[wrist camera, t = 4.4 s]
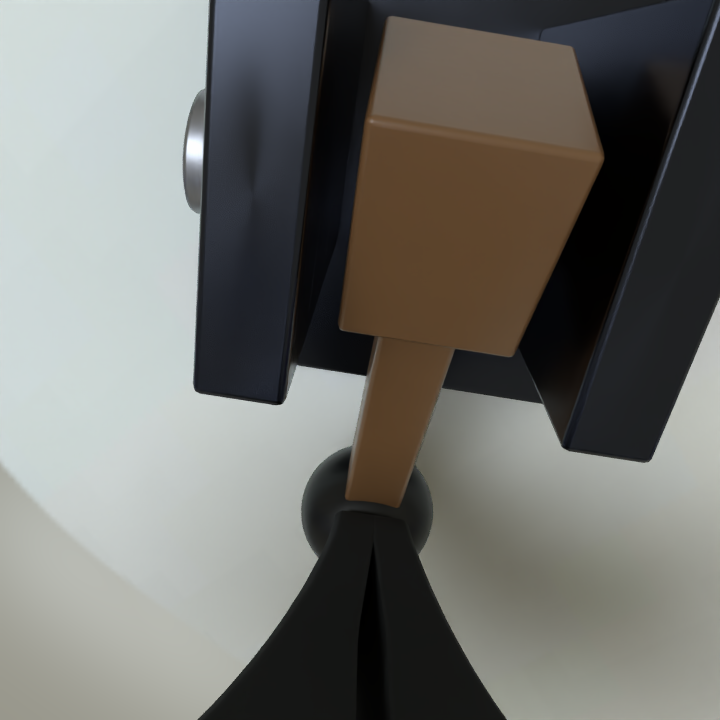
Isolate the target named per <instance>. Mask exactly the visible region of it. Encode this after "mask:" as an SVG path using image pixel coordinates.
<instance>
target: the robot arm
mask: <svg viewBox="0 0 720 720" xmlns="http://www.w3.org/2000/svg"><path fill="white" fill-rule="evenodd" d="M198 720H507V719H506V718H505V717H504V715H503V714H502V712H501V711H500V709H499V708H498V706H497V705H496V703H495V702H494V701H493V699H492V698H491V696H490V694H489V693H488V691H487V690H486V688H485V687H484V685H483V683H482V682H481V680H480V679H479V677H478V676H477V674H476V672H475V671H474V669H473V667H472V666H471V664H470V662H469V660H468V659H467V657H466V655H465V654H464V652H463V650H462V648H461V646H460V644H459V643H458V641H457V639H456V637H455V635H454V633H453V631H452V630H451V628H450V626H449V624H448V622H447V620H446V618H445V616H444V614H443V612H442V609H441V607H440V605H439V603H438V601H437V599H436V597H435V594H434V592H433V590H432V588H431V586H430V583H429V581H428V579H427V576H426V574H425V571H424V569H423V566H422V564H421V561H420V559H419V556H418V553H417V551H416V548H415V545H414V542H413V539H412V536H411V533H410V529H409V525H408V524H407V523H406V521H405V520H403V519H396V518H390V517H383V516H377V515H370V514H364V513H357V512H350V511H344V510H341V511H339V512H338V513H336V514H335V516H334V522H333V525H332V528H331V531H330V534H329V537H328V539H327V542H326V544H325V546H324V548H323V550H322V553H321V555H320V557H319V559H318V561H317V563H316V564H315V566H314V568H313V570H312V572H311V574H310V575H309V577H308V579H307V581H306V583H305V584H304V586H303V588H302V589H301V591H300V593H299V594H298V596H297V597H296V599H295V600H294V602H293V603H292V605H291V607H290V608H289V610H288V611H287V613H286V614H285V616H284V617H283V619H282V620H281V622H280V623H279V625H278V626H277V627H276V629H275V630H274V632H273V633H272V634H271V636H270V637H269V638H268V640H267V641H266V642H265V644H264V645H263V646H262V647H261V649H260V650H259V651H258V653H257V654H256V655H255V656H254V658H253V659H252V660H251V661H250V663H249V664H248V665H247V666H246V667H245V668H244V670H243V671H242V672H241V673H240V674H239V676H238V677H237V678H236V679H235V680H234V681H233V683H232V684H231V685H230V686H229V687H228V688H227V689H226V691H225V692H224V693H223V694H222V695H221V696H220V697H219V698H218V699H217V700H216V701H215V703H214V704H213V705H212V706H211V707H210V708H209V709H208V710H207V711H206V712H205V713H204V714H203V715H202V716H201V717H200V718H199V719H198Z"/></svg>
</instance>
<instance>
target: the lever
mask: <svg viewBox="0 0 720 720" xmlns="http://www.w3.org/2000/svg"><path fill="white" fill-rule="evenodd" d="M603 162H604V151H603V148H602V144H601V141H600V137H599V134H598V130H597V127H596V123H595V119H594V116H593V112H592V109H591V105H590V102H589V98H588V95H587V91H586V88H585V84H584V80H583V77H582V73H581V70H580V66H579V63H578V59H577V56H576V52H575V49H574V48H572V47H571V46H567V45H561V44H555V43H549V42H543V41H537V40H531V39H526V38H520V37H514V36H508V35H502V34H496V33H490V32H484V31H478V30H472V29H466V28H460V27H455V26H449V25H443V24H437V23H431V22H425V21H419V20H413V19H407V18H401V17H395V16H390V17H387V18H386V20H385V22H384V26H383V31H382V36H381V41H380V46H379V51H378V56H377V61H376V65H375V70H374V75H373V80H372V85H371V90H370V95H369V100H368V105H367V110H366V115H365V120H364V128H363V135H362V143H361V150H360V158H359V166H358V173H357V181H356V188H355V196H354V204H353V211H352V219H351V227H350V234H349V242H348V249H347V257H346V265H345V272H344V280H343V287H342V295H341V303H340V310H339V318H338V326H339V329H340V330H342V331H346V332H352V333H359V334H365V335H371V336H374V341H373V346H372V351H371V356H370V361H369V366H368V371H367V376H366V381H365V386H364V391H363V396H362V401H361V406H360V411H359V416H358V421H357V426H356V431H355V436H354V441H353V446H350V447H347V448H344V449H341V450H339V451H337V452H336V453H334V454H332V455H331V456H329V457H328V458H327V459H325V460H324V461H323V462H322V463H321V464H320V465H319V466H318V467H317V469H316V470H315V471H314V472H313V474H312V476H311V477H310V479H309V481H308V483H307V485H306V488H305V491H304V495H303V499H302V506H301V516H302V525H303V529H304V532H305V535H306V538H307V541H308V543H309V545H310V546H311V548H312V550H313V551H314V553H315V554H316V555H317V556H318V558H319V557H320V555H321V553H322V550H323V548H324V546H325V544H326V542H327V539H328V537H329V534H330V531H331V528H332V525H333V522H334V516H335V514H336V513H338V512H339V511H341V510H344V511H350V512H357V513H364V514H370V515H377V516H383V517H390V518H396V519H403V520H405V521H406V523H407V524H408V525H409V529H410V533H411V536H412V539H413V542H414V545H415V548H416V551H417V553H418V554H419V553H420V552H421V550H422V548H423V547H424V545H425V543H426V541H427V539H428V537H429V534H430V530H431V526H432V519H433V504H432V498H431V494H430V491H429V488H428V485H427V483H426V481H425V479H424V477H423V475H422V474H421V473H420V471H419V470H418V469H417V467H416V466H415V462H416V459H417V457H418V454H419V451H420V448H421V445H422V442H423V439H424V437H425V434H426V431H427V428H428V425H429V422H430V420H431V417H432V414H433V411H434V408H435V405H436V402H437V400H438V397H439V394H440V391H441V388H442V385H443V382H444V380H445V377H446V374H447V371H448V368H449V365H450V363H451V360H452V357H453V354H454V351H455V349H460V350H466V351H472V352H478V353H485V354H491V355H497V356H504V357H512V356H513V355H514V354H515V352H516V350H517V348H518V346H519V344H520V342H521V339H522V337H523V335H524V333H525V331H526V329H527V326H528V324H529V322H530V320H531V318H532V316H533V313H534V311H535V309H536V307H537V305H538V303H539V301H540V298H541V296H542V294H543V292H544V290H545V288H546V285H547V283H548V281H549V279H550V277H551V275H552V272H553V270H554V268H555V266H556V264H557V262H558V260H559V257H560V255H561V253H562V251H563V249H564V247H565V244H566V242H567V240H568V238H569V236H570V234H571V231H572V229H573V227H574V225H575V223H576V221H577V218H578V216H579V214H580V212H581V210H582V208H583V206H584V203H585V201H586V199H587V197H588V195H589V193H590V190H591V188H592V186H593V184H594V182H595V180H596V177H597V175H598V173H599V171H600V169H601V167H602V164H603Z"/></svg>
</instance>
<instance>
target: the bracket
mask: <svg viewBox="0 0 720 720" xmlns="http://www.w3.org/2000/svg"><path fill="white" fill-rule="evenodd" d="M390 16H395V17H401V18H407V19H413V20H419V21H425V22H431V23H437V24H443V25H449V26H455V27H460V28H466V29H472V30H478V31H484V32H490V33H496V34H502V35H508V36H514V37H520V38H526V39H531V40H537V41H543V42H549V43H555V44H561V45H567V46H571V47H572V48H574V49H575V52H576V56H577V59H578V63H579V66H580V70H581V73H582V77H583V80H584V84H585V88H586V91H587V95H588V98H589V102H590V105H591V109H592V112H593V116H594V119H595V123H596V127H597V130H598V134H599V137H600V141H601V144H602V148H603V151H604V162H603V164H602V167H601V169H600V171H599V173H598V175H597V177H596V180H595V182H594V184H593V186H592V188H591V190H590V193H589V195H588V197H587V199H586V201H585V203H584V206H583V208H582V210H581V212H580V214H579V216H578V218H577V221H576V223H575V225H574V227H573V229H572V231H571V234H570V236H569V238H568V240H567V242H566V244H565V247H564V249H563V251H562V253H561V255H560V257H559V260H558V262H557V264H556V266H555V268H554V270H553V272H552V275H551V277H550V279H549V281H548V283H547V285H546V288H545V290H544V292H543V294H542V296H541V298H540V301H539V303H538V305H537V307H536V309H535V311H534V313H533V316H532V318H531V320H530V322H529V324H528V326H527V329H526V331H525V333H524V335H523V337H522V339H521V342H520V344H519V346H518V348H517V350H516V352H515V354H514V355H513V356H512V357H504V356H497V355H491V354H485V353H478V352H472V351H466V350H460V349H455V351H454V354H453V357H452V360H451V363H450V365H449V368H448V371H447V374H446V377H445V380H444V382H443V385H442V388H445V389H452V390H458V391H465V392H471V393H477V394H484V395H490V396H496V397H503V398H509V399H515V400H522V401H528V402H534V403H541V404H543V405H544V407H545V410H546V412H547V414H548V416H549V419H550V421H551V423H552V425H553V428H554V430H555V432H556V435H557V437H558V439H559V441H560V444H561V446H562V447H563V448H564V449H566V450H568V451H572V452H578V453H585V454H591V455H597V456H604V457H610V458H617V459H623V460H630V461H636V462H642V463H645V462H649V461H650V460H651V459H652V457H653V455H654V452H655V450H656V447H657V445H658V443H659V440H660V438H661V436H662V433H663V431H664V428H665V426H666V424H667V421H668V419H669V417H670V414H671V412H672V409H673V407H674V405H675V402H676V400H677V398H678V395H679V393H680V390H681V388H682V386H683V383H684V381H685V379H686V376H687V374H688V371H689V369H690V367H691V364H692V362H693V360H694V357H695V355H696V352H697V350H698V348H699V345H700V343H701V341H702V338H703V336H704V333H705V331H706V329H707V326H708V324H709V322H710V319H711V317H712V314H713V312H714V310H715V307H716V305H717V303H718V300H719V298H720V0H209V15H208V39H207V63H206V87H205V89H203V90H201V91H200V92H199V93H198V94H197V96H196V98H195V99H194V102H193V104H192V107H191V110H190V113H189V117H188V121H187V126H186V131H185V138H184V148H183V182H184V189H185V194H186V199H187V202H188V205H189V207H190V208H191V209H192V210H193V211H194V212H196V213H198V214H200V232H199V256H198V280H197V304H196V328H195V352H194V376H193V385H194V389H195V391H196V392H198V393H201V394H207V395H214V396H220V397H226V398H233V399H239V400H246V401H252V402H258V403H265V404H271V405H281V404H282V403H283V402H284V401H285V399H286V397H287V394H288V391H289V387H290V384H291V381H292V378H293V375H294V372H295V369H296V366H297V365H299V366H306V367H312V368H318V369H325V370H331V371H337V372H344V373H350V374H356V375H363V376H367V371H368V366H369V361H370V356H371V351H372V346H373V341H374V336H371V335H365V334H359V333H352V332H346V331H342V330H340V329H339V326H338V318H339V310H340V303H341V295H342V287H343V280H344V272H345V265H346V257H347V249H348V242H349V234H350V227H351V219H352V211H353V204H354V196H355V188H356V181H357V173H358V166H359V158H360V150H361V143H362V135H363V128H364V120H365V115H366V110H367V105H368V100H369V95H370V90H371V85H372V80H373V75H374V70H375V65H376V61H377V56H378V51H379V46H380V41H381V36H382V31H383V26H384V22H385V20H386V18H387V17H390Z"/></svg>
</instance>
